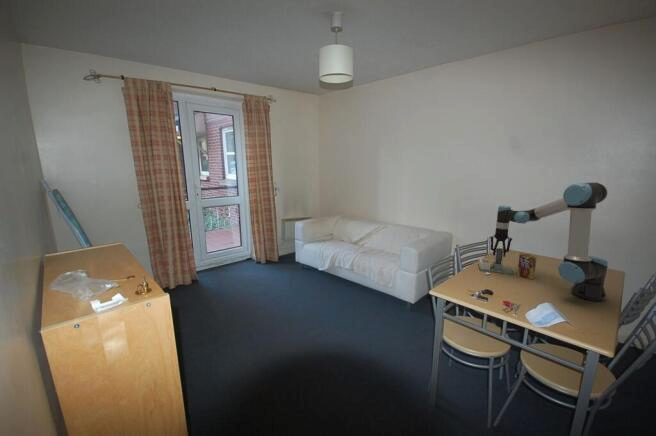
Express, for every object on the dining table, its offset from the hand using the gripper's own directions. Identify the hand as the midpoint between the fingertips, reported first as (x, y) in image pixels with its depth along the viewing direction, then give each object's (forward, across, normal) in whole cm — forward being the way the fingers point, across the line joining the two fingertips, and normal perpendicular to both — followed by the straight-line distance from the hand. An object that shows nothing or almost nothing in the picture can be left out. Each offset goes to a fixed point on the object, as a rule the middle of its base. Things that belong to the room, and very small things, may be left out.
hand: (498, 260), depth 205 cm
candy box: (+7, -15, +7) cm, 19 cm away
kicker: (+6, 0, 0) cm, 6 cm away
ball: (+4, +5, 0) cm, 6 cm away
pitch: (+7, +2, 0) cm, 7 cm away
